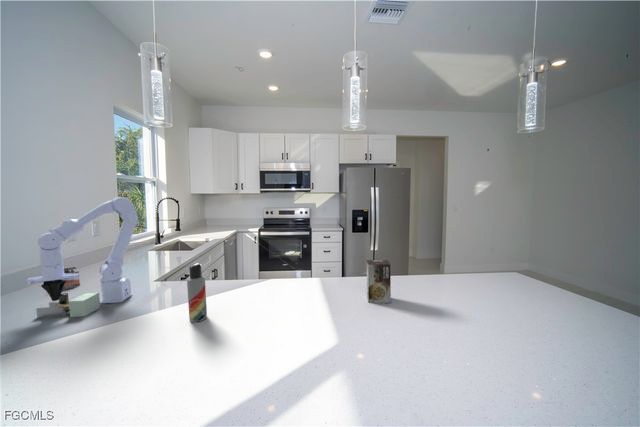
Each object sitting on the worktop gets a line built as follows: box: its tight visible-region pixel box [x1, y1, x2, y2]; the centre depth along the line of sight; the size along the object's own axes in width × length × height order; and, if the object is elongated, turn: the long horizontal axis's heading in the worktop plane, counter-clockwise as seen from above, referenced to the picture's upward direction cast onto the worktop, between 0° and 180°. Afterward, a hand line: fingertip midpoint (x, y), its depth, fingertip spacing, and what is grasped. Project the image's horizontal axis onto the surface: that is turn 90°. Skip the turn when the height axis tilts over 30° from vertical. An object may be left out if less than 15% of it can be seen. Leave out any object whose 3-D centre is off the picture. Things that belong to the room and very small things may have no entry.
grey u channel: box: [35, 301, 70, 319], centre depth 96 cm, size 9×5×4 cm, turn 96°
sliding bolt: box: [57, 292, 70, 311], centre depth 96 cm, size 9×3×6 cm, turn 96°
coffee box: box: [366, 259, 392, 304], centre depth 104 cm, size 9×6×16 cm
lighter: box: [62, 265, 81, 291], centre depth 122 cm, size 8×3×10 cm, turn 143°
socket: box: [69, 292, 101, 318], centre depth 97 cm, size 5×7×6 cm
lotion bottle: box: [186, 263, 208, 323], centre depth 90 cm, size 6×6×20 cm
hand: (56, 299), depth 95 cm, fingers closed
